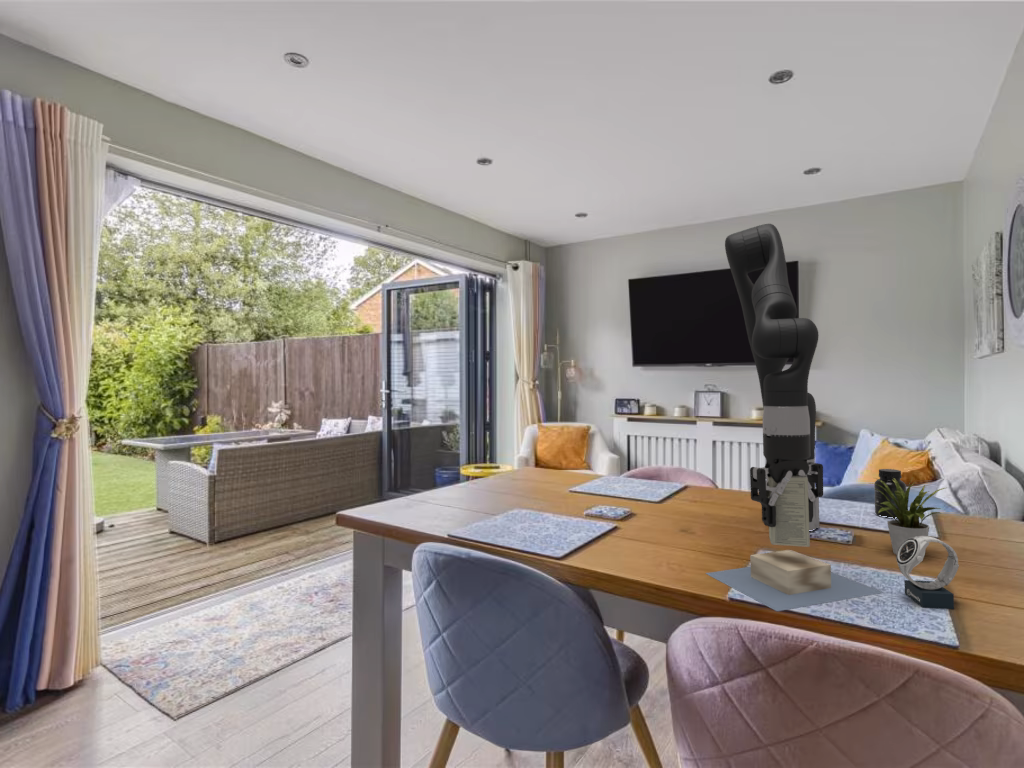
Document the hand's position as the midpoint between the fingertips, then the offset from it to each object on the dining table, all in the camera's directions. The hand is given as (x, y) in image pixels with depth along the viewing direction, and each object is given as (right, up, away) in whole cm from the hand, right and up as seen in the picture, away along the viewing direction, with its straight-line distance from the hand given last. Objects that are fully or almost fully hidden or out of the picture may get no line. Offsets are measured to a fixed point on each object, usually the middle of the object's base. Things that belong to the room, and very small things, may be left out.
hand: (787, 523), depth 98 cm
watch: (+18, -11, -9) cm, 23 cm away
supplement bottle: (+50, -10, +46) cm, 69 cm away
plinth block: (0, -10, 0) cm, 10 cm away
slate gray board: (0, -11, 0) cm, 11 cm away
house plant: (+32, -11, +17) cm, 37 cm away
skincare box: (0, -4, 0) cm, 4 cm away
